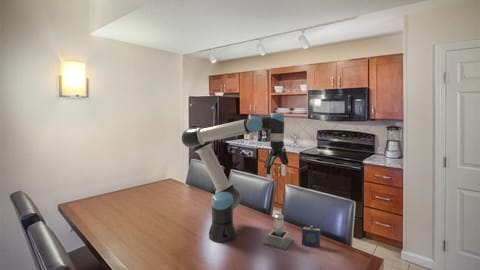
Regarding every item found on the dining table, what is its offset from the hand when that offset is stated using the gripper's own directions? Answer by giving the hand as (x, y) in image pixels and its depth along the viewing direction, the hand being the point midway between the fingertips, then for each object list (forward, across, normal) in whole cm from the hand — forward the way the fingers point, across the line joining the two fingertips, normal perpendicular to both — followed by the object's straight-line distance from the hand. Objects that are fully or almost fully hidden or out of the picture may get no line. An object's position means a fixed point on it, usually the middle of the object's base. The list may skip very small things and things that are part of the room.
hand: (276, 177), depth 150 cm
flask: (+32, 0, -23) cm, 39 cm away
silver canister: (+31, -10, -9) cm, 33 cm away
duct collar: (+32, -10, -9) cm, 34 cm away
